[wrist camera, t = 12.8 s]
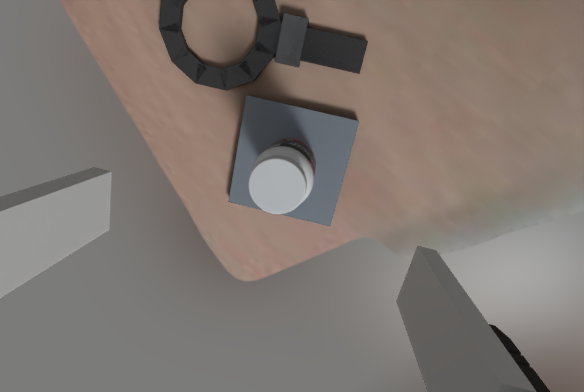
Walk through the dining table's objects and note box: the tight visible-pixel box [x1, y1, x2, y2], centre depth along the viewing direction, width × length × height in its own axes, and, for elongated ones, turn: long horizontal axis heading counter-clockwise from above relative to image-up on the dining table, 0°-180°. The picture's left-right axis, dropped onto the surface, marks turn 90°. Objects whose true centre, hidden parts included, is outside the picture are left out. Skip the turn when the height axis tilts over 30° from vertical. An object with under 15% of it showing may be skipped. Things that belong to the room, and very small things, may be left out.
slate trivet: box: [229, 95, 359, 226], centre depth 36 cm, size 12×12×1 cm
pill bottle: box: [249, 138, 316, 214], centre depth 30 cm, size 6×6×10 cm
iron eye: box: [159, 0, 368, 90], centre depth 32 cm, size 12×21×1 cm, turn 78°
